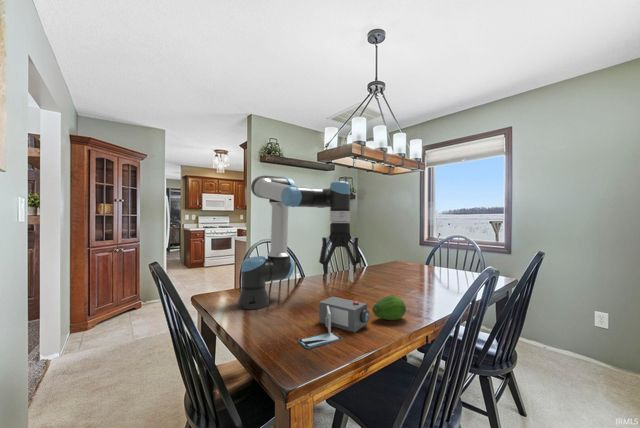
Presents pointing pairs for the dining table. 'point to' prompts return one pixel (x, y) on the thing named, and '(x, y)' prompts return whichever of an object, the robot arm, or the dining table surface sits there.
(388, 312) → the fruit
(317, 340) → the smartphone
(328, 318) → the door
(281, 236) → the robot arm
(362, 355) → the dining table surface
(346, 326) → the camera body
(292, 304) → the dining table surface
